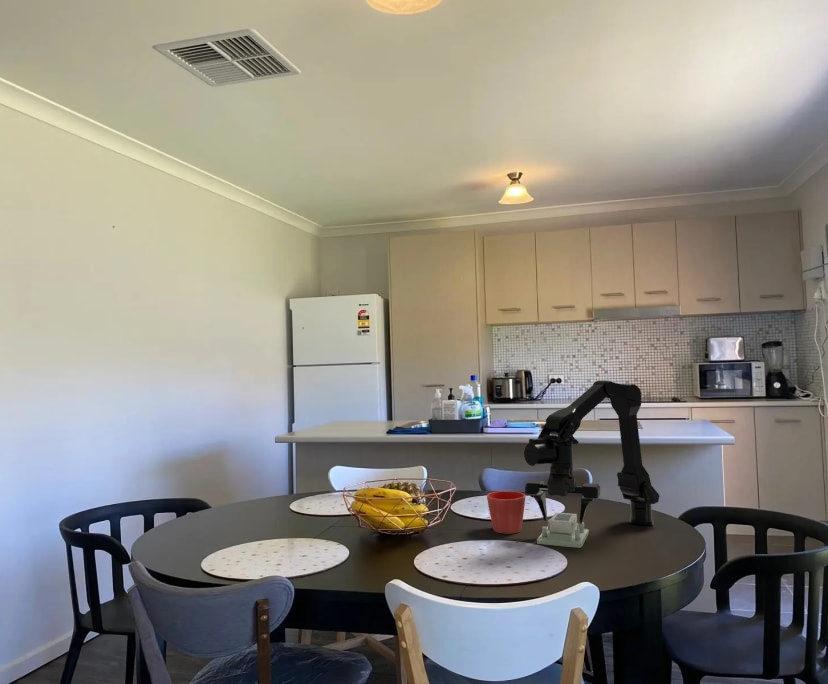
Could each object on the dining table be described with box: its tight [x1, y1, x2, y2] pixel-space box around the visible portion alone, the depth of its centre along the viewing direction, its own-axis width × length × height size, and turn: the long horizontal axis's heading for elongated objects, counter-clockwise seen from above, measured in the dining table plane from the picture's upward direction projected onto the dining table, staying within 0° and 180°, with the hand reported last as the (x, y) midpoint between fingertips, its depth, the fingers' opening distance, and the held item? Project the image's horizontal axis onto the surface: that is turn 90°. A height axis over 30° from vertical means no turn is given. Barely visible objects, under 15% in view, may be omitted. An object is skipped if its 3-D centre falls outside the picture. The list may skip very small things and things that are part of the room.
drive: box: [548, 512, 578, 539], centre depth 163 cm, size 9×6×5 cm, turn 157°
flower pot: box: [486, 490, 526, 535], centre depth 172 cm, size 11×11×10 cm
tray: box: [536, 518, 590, 549], centre depth 163 cm, size 14×11×4 cm
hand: (563, 522), depth 163 cm, fingers open, 9 cm apart
